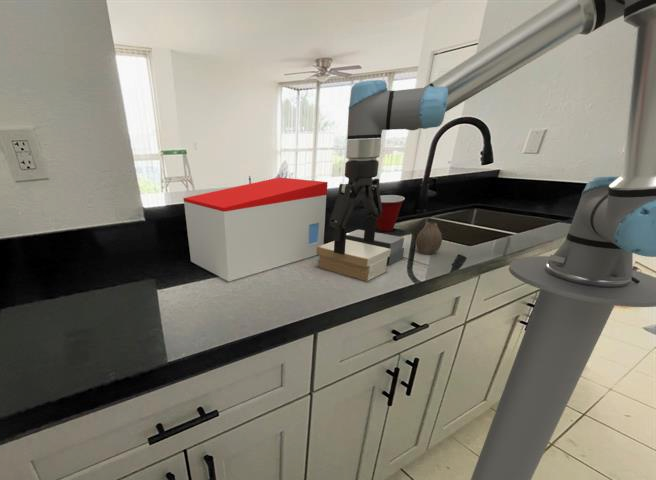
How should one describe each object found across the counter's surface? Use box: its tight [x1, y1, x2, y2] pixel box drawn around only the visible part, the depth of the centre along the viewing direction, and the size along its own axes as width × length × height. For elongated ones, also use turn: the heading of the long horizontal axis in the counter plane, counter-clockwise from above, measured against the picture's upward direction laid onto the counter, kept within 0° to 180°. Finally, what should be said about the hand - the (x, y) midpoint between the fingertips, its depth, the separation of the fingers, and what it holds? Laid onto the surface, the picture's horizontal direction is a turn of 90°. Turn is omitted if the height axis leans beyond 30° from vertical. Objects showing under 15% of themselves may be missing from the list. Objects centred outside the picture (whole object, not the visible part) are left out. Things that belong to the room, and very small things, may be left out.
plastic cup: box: [376, 194, 406, 232], centre depth 125 cm, size 11×11×12 cm
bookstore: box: [183, 176, 328, 282], centre depth 97 cm, size 21×35×21 cm, turn 127°
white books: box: [317, 255, 388, 282], centre depth 89 cm, size 15×9×4 cm, turn 42°
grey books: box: [346, 229, 405, 266], centre depth 98 cm, size 15×9×6 cm, turn 42°
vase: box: [415, 222, 443, 255], centre depth 99 cm, size 7×7×9 cm
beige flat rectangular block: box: [316, 239, 391, 267], centre depth 88 cm, size 15×11×2 cm
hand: (354, 247), depth 87 cm, fingers open, 13 cm apart
